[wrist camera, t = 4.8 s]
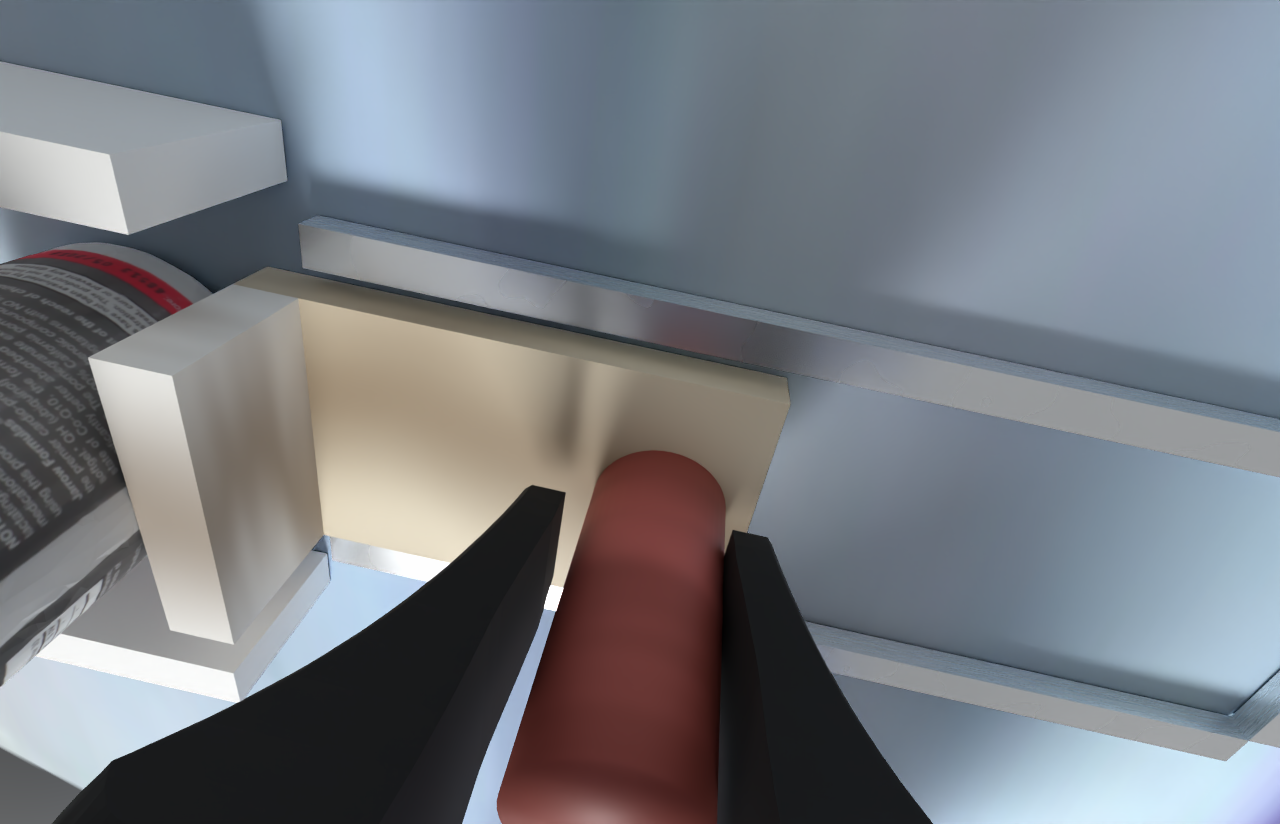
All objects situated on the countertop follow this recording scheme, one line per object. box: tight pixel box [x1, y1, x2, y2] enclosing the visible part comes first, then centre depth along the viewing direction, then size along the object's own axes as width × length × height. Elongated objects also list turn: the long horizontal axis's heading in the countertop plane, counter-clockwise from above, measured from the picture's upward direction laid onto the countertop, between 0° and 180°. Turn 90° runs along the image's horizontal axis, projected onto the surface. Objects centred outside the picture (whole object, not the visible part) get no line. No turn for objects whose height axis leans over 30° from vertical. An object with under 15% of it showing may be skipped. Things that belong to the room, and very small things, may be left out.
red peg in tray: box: [88, 266, 790, 824], centre depth 11 cm, size 6×10×7 cm, turn 81°
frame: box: [0, 61, 330, 703], centre depth 12 cm, size 11×10×4 cm
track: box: [298, 215, 1280, 761], centre depth 13 cm, size 8×22×1 cm, turn 81°
